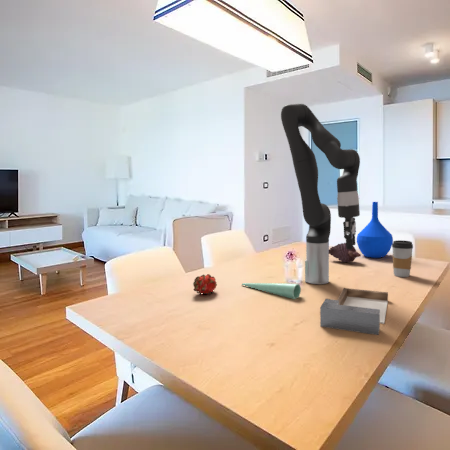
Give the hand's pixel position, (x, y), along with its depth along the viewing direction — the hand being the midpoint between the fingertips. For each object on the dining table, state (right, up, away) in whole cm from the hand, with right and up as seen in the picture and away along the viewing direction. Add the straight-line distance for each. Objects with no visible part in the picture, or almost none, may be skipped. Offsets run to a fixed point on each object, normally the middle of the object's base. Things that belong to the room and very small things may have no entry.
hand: (351, 247), depth 136 cm
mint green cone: (-30, -18, +8) cm, 36 cm away
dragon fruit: (-55, -19, +8) cm, 58 cm away
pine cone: (+15, -11, +53) cm, 56 cm away
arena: (-2, -20, -14) cm, 24 cm away
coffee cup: (+31, -14, +24) cm, 41 cm away
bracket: (-10, -22, -28) cm, 37 cm away
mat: (-1, -20, -15) cm, 25 cm away
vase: (+35, -9, +64) cm, 74 cm away
